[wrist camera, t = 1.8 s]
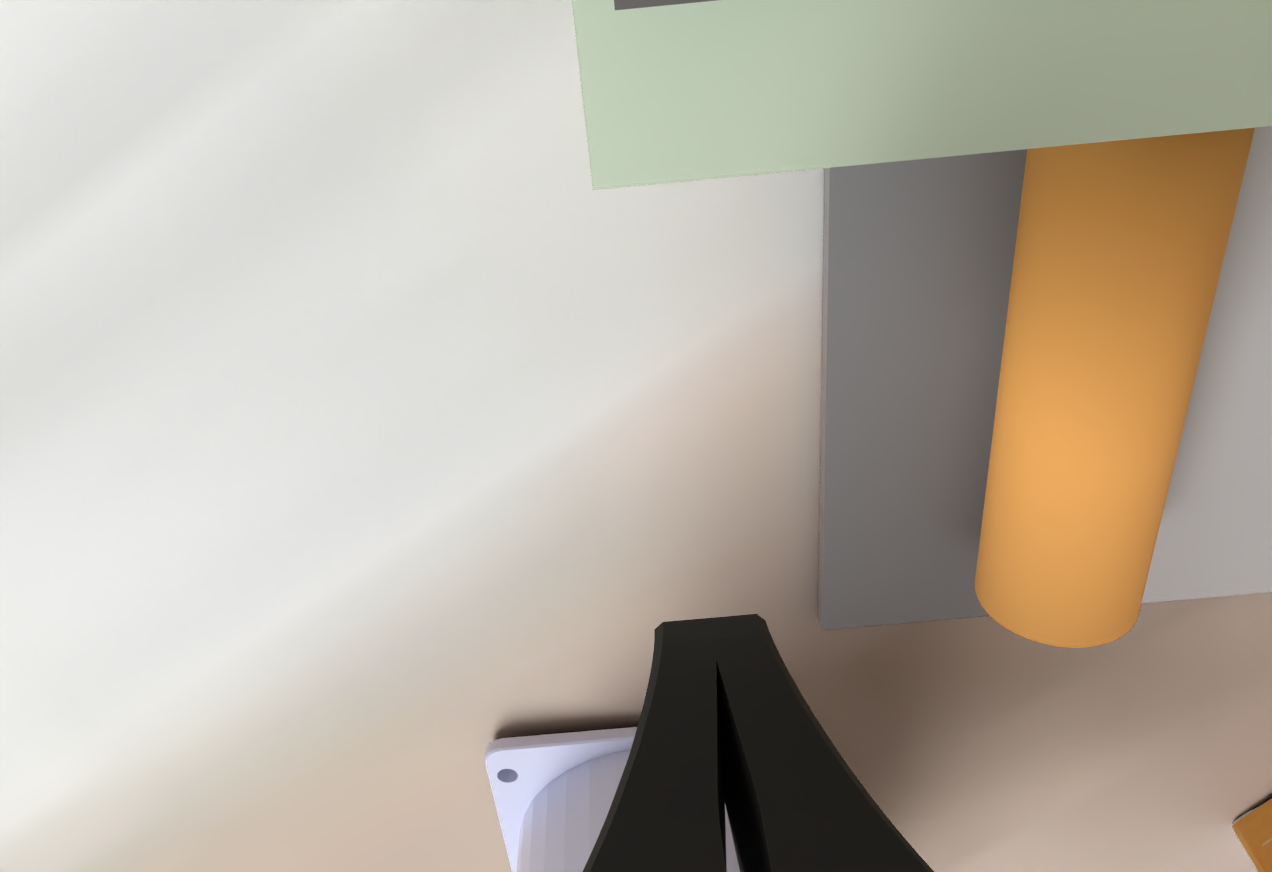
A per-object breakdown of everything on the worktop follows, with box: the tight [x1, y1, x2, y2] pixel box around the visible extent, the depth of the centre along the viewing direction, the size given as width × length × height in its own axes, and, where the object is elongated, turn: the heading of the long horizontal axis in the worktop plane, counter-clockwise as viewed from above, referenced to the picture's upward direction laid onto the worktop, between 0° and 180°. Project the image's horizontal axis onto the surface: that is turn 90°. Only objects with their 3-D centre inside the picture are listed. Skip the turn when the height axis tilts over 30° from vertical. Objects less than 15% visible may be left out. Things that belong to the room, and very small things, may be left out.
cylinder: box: [975, 128, 1255, 648], centre depth 19 cm, size 10×3×3 cm, turn 5°
